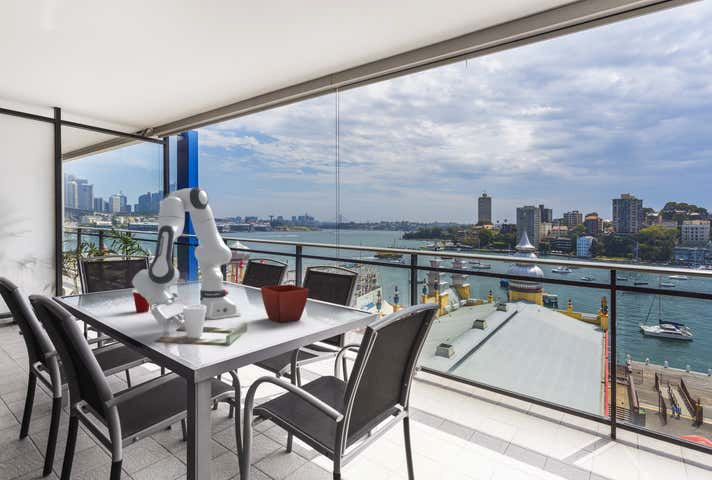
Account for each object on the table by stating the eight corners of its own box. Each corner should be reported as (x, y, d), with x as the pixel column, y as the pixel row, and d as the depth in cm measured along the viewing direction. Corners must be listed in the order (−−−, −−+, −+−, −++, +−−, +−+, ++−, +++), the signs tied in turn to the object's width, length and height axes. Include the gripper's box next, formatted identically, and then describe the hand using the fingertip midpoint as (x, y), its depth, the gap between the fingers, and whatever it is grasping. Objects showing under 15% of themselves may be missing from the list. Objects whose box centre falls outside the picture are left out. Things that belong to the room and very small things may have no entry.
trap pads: (181, 341, 155) (181, 340, 155) (204, 327, 177) (204, 326, 177) (195, 341, 155) (195, 341, 155) (216, 327, 177) (216, 327, 177)
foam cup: (188, 332, 170) (188, 304, 170) (208, 333, 171) (209, 304, 170) (178, 338, 161) (179, 308, 161) (200, 339, 161) (201, 309, 161)
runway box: (154, 342, 156) (155, 332, 155) (181, 328, 178) (181, 319, 177) (229, 345, 155) (230, 335, 154) (247, 330, 177) (247, 322, 176)
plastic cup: (147, 314, 202) (147, 292, 202) (127, 313, 202) (127, 291, 202) (157, 309, 213) (158, 288, 212) (139, 309, 213) (139, 288, 213)
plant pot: (277, 325, 188) (277, 292, 187) (259, 318, 202) (260, 286, 201) (308, 320, 200) (309, 289, 200) (290, 313, 215) (290, 284, 214)
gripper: (153, 301, 156) (175, 325, 155) (178, 292, 176) (198, 314, 176) (142, 311, 156) (165, 335, 156) (169, 301, 176) (188, 323, 176)
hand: (182, 324), depth 166 cm, fingers closed, pressing on foam cup
